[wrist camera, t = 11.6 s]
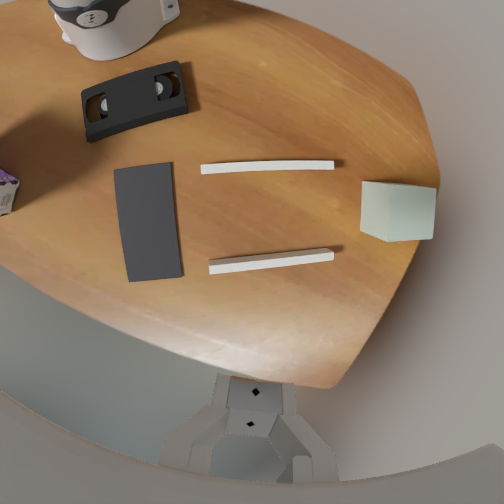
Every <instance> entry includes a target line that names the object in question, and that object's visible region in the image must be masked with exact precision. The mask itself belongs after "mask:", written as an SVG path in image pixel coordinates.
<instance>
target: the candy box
mask: <svg viewBox="0 0 504 504" xmlns="http://www.w3.org/2000/svg"><path fill="white" fill-rule="evenodd" d="M19 183H20V181H19V180H18V179H16V178H15V177H14V176H12V175H10V174H9V173H7V172H6V171H4V170H3V169H1V168H0V216H4V215H7V214H10V212H11V209H12V206H13V202H14V199H15V196H16V193H17V190H18V187H19Z"/></svg>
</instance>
